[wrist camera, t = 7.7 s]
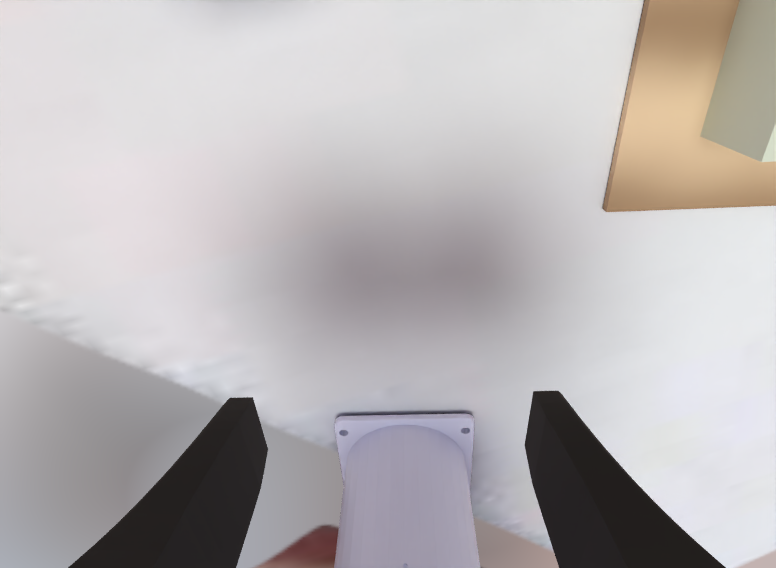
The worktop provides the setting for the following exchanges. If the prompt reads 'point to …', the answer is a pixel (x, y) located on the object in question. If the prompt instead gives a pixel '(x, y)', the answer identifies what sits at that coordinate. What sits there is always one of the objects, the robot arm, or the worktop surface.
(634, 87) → the cork mat
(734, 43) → the sage block
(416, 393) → the worktop surface
